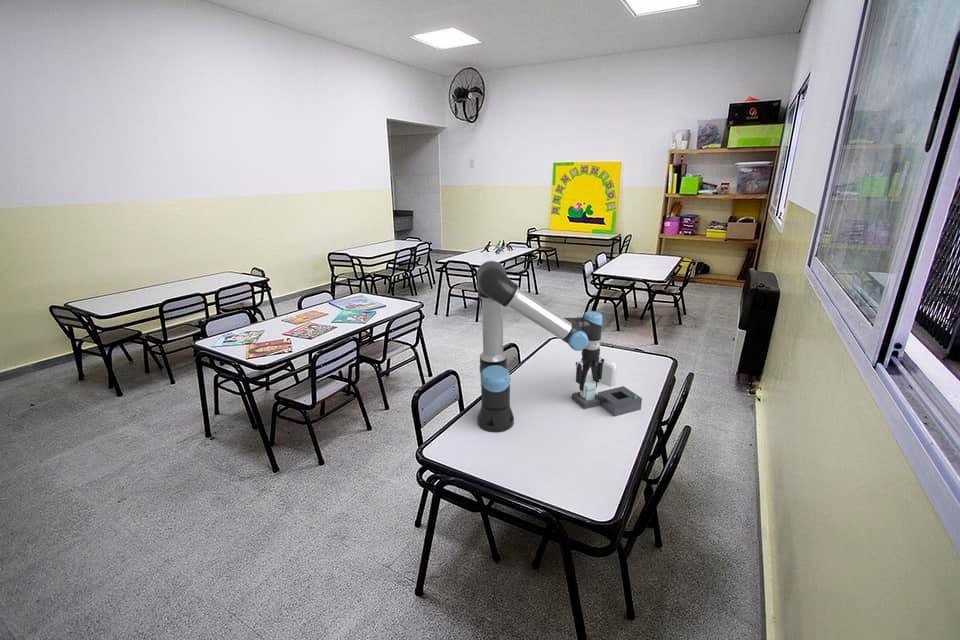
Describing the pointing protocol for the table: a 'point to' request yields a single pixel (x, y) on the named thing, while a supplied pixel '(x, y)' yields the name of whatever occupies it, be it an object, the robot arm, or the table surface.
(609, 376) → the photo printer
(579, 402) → the dark grey square tray
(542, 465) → the table surface
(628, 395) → the port block
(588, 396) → the plug
